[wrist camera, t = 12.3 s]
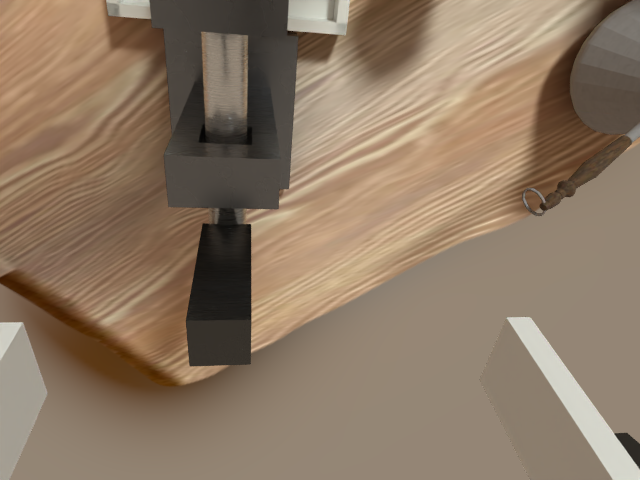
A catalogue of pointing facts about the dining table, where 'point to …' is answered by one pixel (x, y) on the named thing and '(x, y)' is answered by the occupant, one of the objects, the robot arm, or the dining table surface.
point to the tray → (303, 14)
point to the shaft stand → (262, 104)
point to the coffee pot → (604, 94)
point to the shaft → (223, 220)
